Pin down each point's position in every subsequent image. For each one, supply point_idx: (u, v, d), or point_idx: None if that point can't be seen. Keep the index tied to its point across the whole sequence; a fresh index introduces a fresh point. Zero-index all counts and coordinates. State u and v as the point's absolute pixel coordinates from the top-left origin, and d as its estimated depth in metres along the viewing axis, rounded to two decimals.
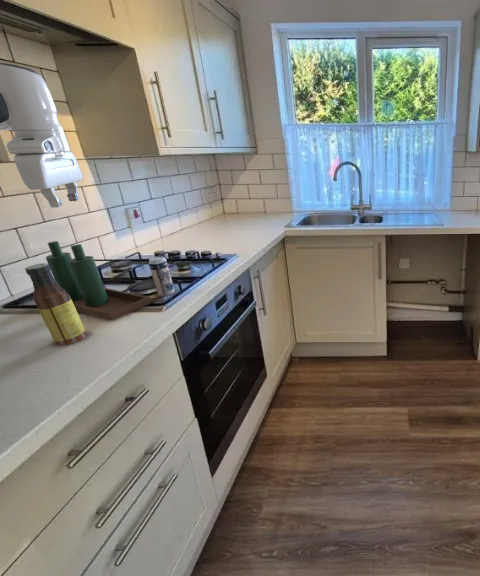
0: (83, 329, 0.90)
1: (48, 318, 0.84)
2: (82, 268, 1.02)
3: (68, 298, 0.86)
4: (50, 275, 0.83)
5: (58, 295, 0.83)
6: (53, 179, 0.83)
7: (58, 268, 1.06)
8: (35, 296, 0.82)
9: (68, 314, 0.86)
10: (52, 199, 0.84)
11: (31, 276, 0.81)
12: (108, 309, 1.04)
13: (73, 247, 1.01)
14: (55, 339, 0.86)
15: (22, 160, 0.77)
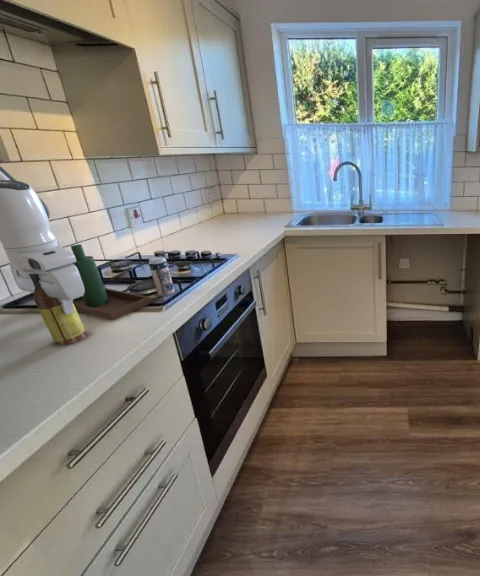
0: (83, 329, 0.90)
1: (48, 318, 0.84)
2: (82, 268, 1.02)
3: None
4: None
5: None
6: None
7: None
8: (35, 296, 0.82)
9: (68, 314, 0.86)
10: (68, 305, 0.84)
11: (31, 276, 0.81)
12: (108, 309, 1.04)
13: (73, 247, 1.01)
14: (55, 339, 0.86)
15: (61, 274, 0.78)
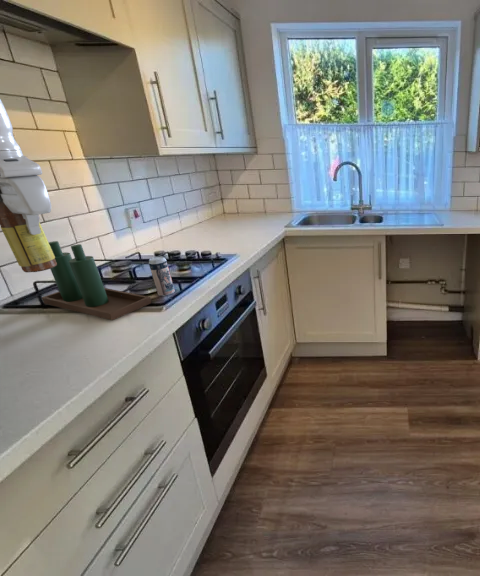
0: (53, 256, 0.82)
1: (12, 239, 0.76)
2: (82, 268, 1.02)
3: None
4: None
5: None
6: None
7: (58, 268, 1.06)
8: None
9: (35, 236, 0.78)
10: (34, 225, 0.76)
11: None
12: (108, 309, 1.04)
13: (73, 247, 1.01)
14: (20, 264, 0.78)
15: (24, 183, 0.70)
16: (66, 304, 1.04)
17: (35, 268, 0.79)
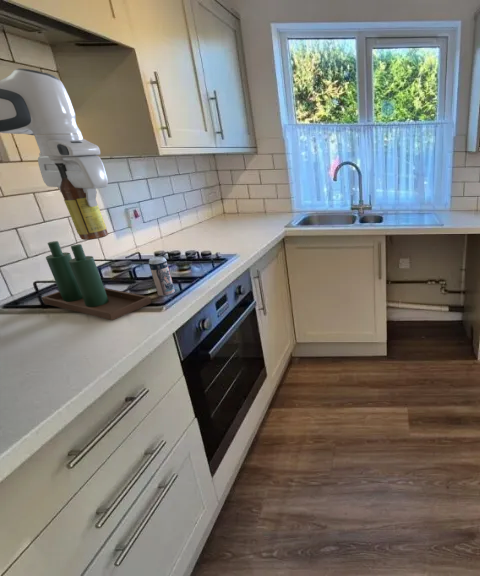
0: (105, 227, 0.95)
1: (74, 210, 0.89)
2: (82, 268, 1.02)
3: None
4: None
5: None
6: None
7: (58, 268, 1.06)
8: (62, 186, 0.88)
9: (92, 208, 0.92)
10: (92, 198, 0.90)
11: (59, 167, 0.87)
12: (108, 309, 1.04)
13: (73, 247, 1.01)
14: (79, 232, 0.92)
15: (88, 161, 0.84)
16: (66, 304, 1.04)
17: (91, 236, 0.93)
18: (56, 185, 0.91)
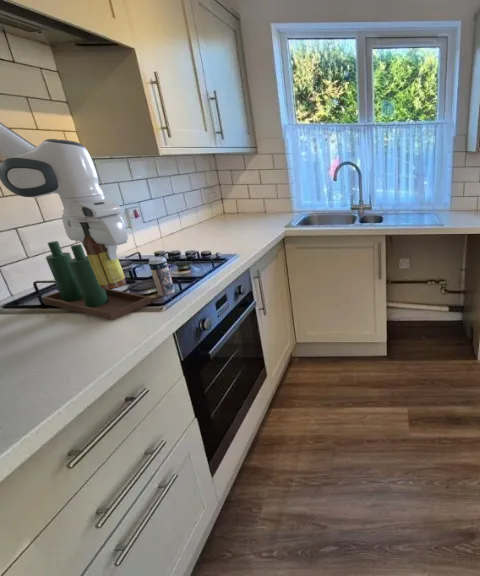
0: (123, 276, 1.02)
1: (96, 263, 0.96)
2: (82, 268, 1.02)
3: None
4: None
5: None
6: None
7: (58, 268, 1.06)
8: (85, 243, 0.94)
9: (112, 261, 0.98)
10: (113, 252, 0.96)
11: (82, 225, 0.93)
12: (108, 309, 1.04)
13: (73, 247, 1.01)
14: (100, 283, 0.98)
15: (110, 221, 0.90)
16: (66, 304, 1.04)
17: (112, 286, 0.99)
18: (79, 240, 0.97)
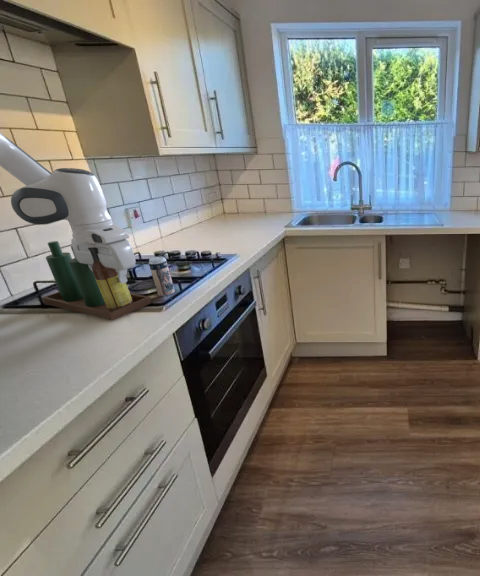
0: (131, 299, 1.04)
1: (104, 288, 0.99)
2: (82, 268, 1.02)
3: None
4: None
5: None
6: None
7: (58, 268, 1.06)
8: (94, 268, 0.97)
9: (120, 285, 1.01)
10: (123, 276, 0.98)
11: (92, 251, 0.96)
12: (108, 309, 1.04)
13: None
14: (109, 306, 1.01)
15: (118, 247, 0.93)
16: (66, 304, 1.04)
17: None
18: (87, 263, 0.99)
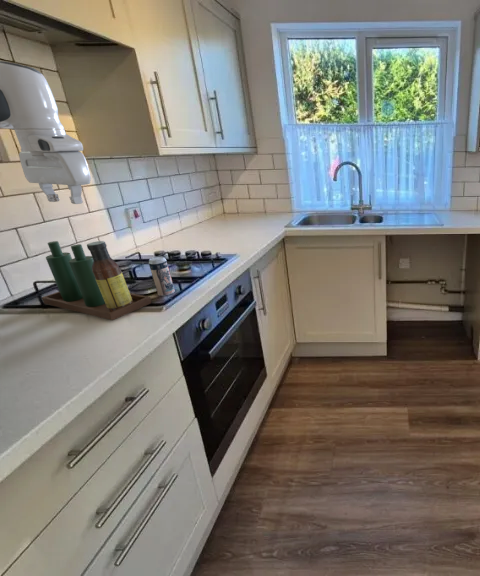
0: (131, 299, 1.04)
1: (104, 288, 0.99)
2: (82, 268, 1.02)
3: (120, 271, 1.01)
4: (106, 251, 0.98)
5: (113, 268, 0.98)
6: None
7: (58, 268, 1.06)
8: (94, 268, 0.97)
9: (120, 285, 1.01)
10: (77, 195, 0.88)
11: (92, 251, 0.96)
12: (108, 309, 1.04)
13: (73, 247, 1.01)
14: (109, 306, 1.01)
15: (69, 157, 0.82)
16: (66, 304, 1.04)
17: None
18: (38, 181, 0.88)
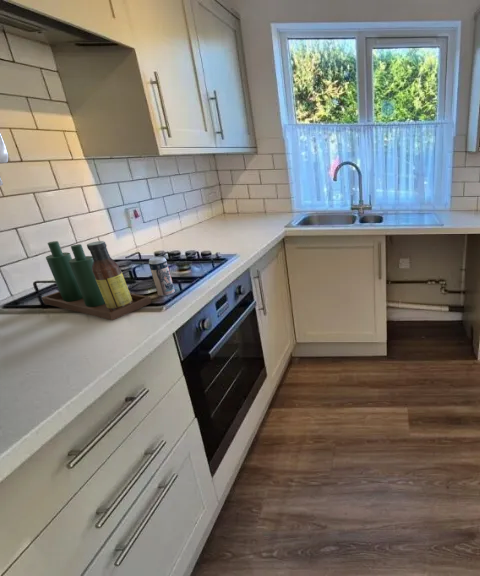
0: (131, 299, 1.04)
1: (104, 288, 0.99)
2: (82, 268, 1.02)
3: (120, 271, 1.01)
4: (106, 251, 0.98)
5: (113, 268, 0.98)
6: None
7: (58, 268, 1.06)
8: (94, 268, 0.97)
9: (120, 285, 1.01)
10: None
11: (92, 251, 0.96)
12: (108, 309, 1.04)
13: (73, 247, 1.01)
14: (109, 306, 1.01)
15: None
16: (66, 304, 1.04)
17: None
18: None
